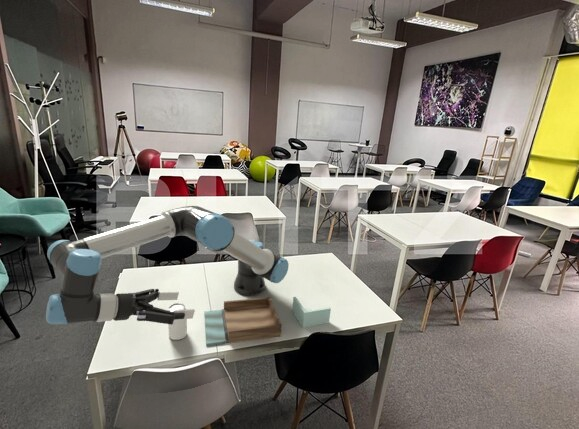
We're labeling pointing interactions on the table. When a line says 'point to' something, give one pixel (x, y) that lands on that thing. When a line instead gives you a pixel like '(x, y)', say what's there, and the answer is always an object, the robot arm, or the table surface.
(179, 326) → the can
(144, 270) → the table surface
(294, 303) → the l-shaped corner panel
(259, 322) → the grooved wooden tray
